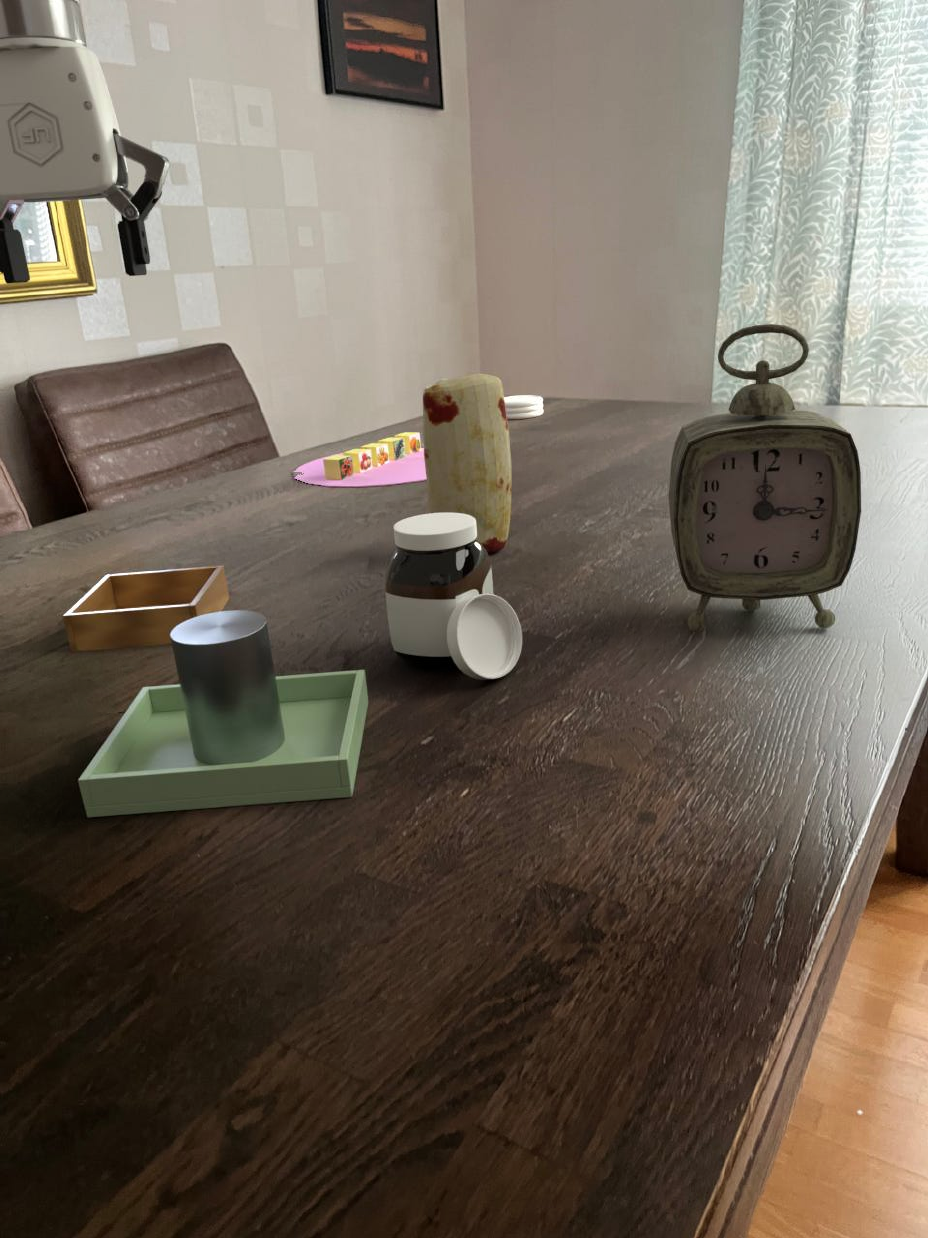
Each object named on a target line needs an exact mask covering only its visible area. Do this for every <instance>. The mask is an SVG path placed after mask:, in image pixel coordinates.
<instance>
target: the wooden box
mask: <svg viewBox="0 0 928 1238" xmlns="http://www.w3.org/2000/svg"><path fill="white" fill-rule="evenodd" d="M229 599H230V594H229V587H228V581H227V575H226V570H225V565H223V564H222V565H212V566H200V567H197V566H196V567H187V568H186V567H185V568H174V569H173V568H172V569H160V570H150V571H149V570H148V571H137V572H136V571H135V572H124V573H112V574H111V573H110V574H106V575H104V577H102V578H101V579H100V580H99V581H98V582H97V583H96V584H95V585H94V586H93V587H92V588H90V590H88V592H87V593H85V594H84V595H83V596H82V597H81V598H80V599H79V600H77V602H76V603H74V605H72V607H70V608H69V609H68V610H67V611H66V612H65V613H64V614H63V615H62V619H63V623H64V627H65V631H66V632H65V633H66V637H67V640H68V644H69V648H70V652H72V653H73V652H85V651H98V650H110V649H123V648H124V649H125V648H133V647H134V648H135V647H136V648H137V647H147V646H148V647H149V646H160V645H161V646H163V645H172V643H171V638H170V633H171V631H172V630H173V629H174V628H175V627H176V626H177V625H179V624H181V623H183V622H185V621H187V620H189V619H192V618H194V617H198V616H201V615H205V614H209V613H214V612H220V611H223V609H224V607H225V606H226V604H227V602H228V601H229Z"/></svg>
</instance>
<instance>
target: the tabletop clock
mask: <svg viewBox="0 0 928 1238" xmlns="http://www.w3.org/2000/svg"><path fill="white" fill-rule="evenodd" d="M759 334H783V335H786V336H788V337H791V338H792V339H794V340H796V341H797V342H798V343H799V345H800V346H801V349H802V354H801V356H800V358H799V359H797V360H796V361H795V362H793V363H792V364H790V365H787V366H784V367H781V368H775V369H770V363H769V362H768V361H767V360H765V359H763V360H759V361H757V363H756V364H755V370H742V369H737V368H734V367H732V366H731V365H729V364H727V363H726V361H725V352H726V351H727V349H728V348H729V347H730V346H731V345H732V344H733V343H735V341H737V340H739V339H742V338H744V337H747V336H752V335H759ZM809 347H810V346H809V344H808V341H807V339H806V337H805V336H804V335H803V334H802V333H800V332H799V331H798V330H797V329H795V328H793V327H790V326H787V325H785V324H775V323H774V324H773V323H769V324H755V325H751V326H747V327H746V326H745V327H743V328H740V329H738V330H737V331H735V332H733V333H731V334H730V335H729V336H728V337H727V338H725V340H724V341H723V342H722V344H721V345H720V347H719V350H718V354H717V361H718V364H719V366H720V368H721V369H722V370H724V371H725V372H726V373H727V374H728V375H729V376H732V377H735V378H739V379H741V380H750V381H755V383H750V384H747V385H745V386H743V387H741V388H740V389H739V390H737V392H736V393H735V394H734V395H733V398H732V399H731V401H730V404H729V406H728V413H721V414H720V413H719V414H714V415H707V416H704V417H701V418H700V417H699V418H697V419H695V420H692V421H691V422H688V423H686V424H683V425H681V428H680V430H679V432H678V435H677V437H676V439H675V442H674V446H673V451H672V456H671V460H670V471H669V472H670V473H669V484H668V485H669V486H668V507H669V519H670V520H669V521H670V530H671V531H670V532H671V536H672V541H673V546H674V550H675V556H676V559H677V564H678V569H679V571H680V576H681V579H682V580H683V582H684V584H685V586H686V589H687V591H690V592H691V593H695V594H698V595H700V598H699V601H698V606H697V607H696V608H697V609H696V612H695V611H694V612H691V613H689V614H688V615H687V616H686V619H685V625H686V628H688V629H689V630H690V631H692V632H699V631H701V630H702V629H703V628H704V626H705V625H706V624H705V623H706V620H705V617H704V615H703V613H704V612H705V610H706V608H707V606H708V604H709V602H710V600H711V598H715V599H729V600H730V599H731V600H741V606H742V608H743V609H744V610H745V611H747V612H749V613H753V612H755V611H757V610H759V609H760V607H761V601H765V600H766V601H767V600H779V599H787V598H788V599H789V598H800V597H807V598H808V599H809V601H810V603H811V604H812V605H813V607H814V609H815V610H816V613H815V615H814V622H815V624H816V626H817V627H819V628H821V629H829V628H831V627H832V626H833V625H834V623H835V621H836V616H835V613H834V612H833V611H832V610H830V609H826V608H824V607H823V605H822V601H821V599H820V596H819V594H823V593H826V592H829V591H831V590H834V589H837V588H839V587H841V586H843V583H844V581H845V580H846V578H847V577H848V574H849V572H850V570H851V567H852V564H853V561H854V558H855V553H856V549H857V542H858V536H859V529H860V522H861V515H862V475H861V474H862V472H861V465H860V464H861V463H860V457H859V451H858V448H857V446H856V443H855V441H854V438H853V435H852V434H851V433H850V432H849V431H848V430H846V429H845V428H844V427H842V426H841V425H840V424H839V423H837V422H836V421H835V420H833V418H830V417H828V416H825V415H823V414H819V413H817V412H814V411H813V412H812V411H809V410H808V411H807V410H796V406H795V404H794V400H793V398H792V396H791V394H790V393H789V392H788V390H787V389H785V388H784V387H783V386H782V385H780V384H778V383H774V382H770V380H773V379H778V378H782V377H785V376H787V375H789V374H792V373H795V372H796V371H797V370H799V368H800V367H802V366H803V365H804V364H805V362H806V361H807V359H808V357H809V354H810V353H809V352H810V348H809Z"/></svg>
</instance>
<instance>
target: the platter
mask: <svg viewBox="0 0 928 1238" xmlns="http://www.w3.org/2000/svg"><path fill="white" fill-rule="evenodd" d="M421 445H422V444H421V433H420V432H415V431H414V432H411V431H410V432H409V431H404V432H400V433H398V434H395V435H393V437H391V436H390V437H386V438H383V439H380V440H377V442H371V443H368V444H364V445H361V446H360V448H353V449H350V450H349V449H348V450H346V451H343V452H340V453H336V454H332V455H327V456H324V457H321V458H317V459H314V460H312V461H309V462H306V463H305V464H304V463H303V464H302V465H299V466H298V467H297V468H296V469H295V470H293V472H302V474H303V473H304V474H303V475H301V474H300V475H299V474H298V475H297V476H296V477H294V476H293V478H294V480H295V479H297V480H296V481H298V480H300V481H302V482H301V483H303V482H305V483H304V484H306V483H308V484H307V485H311V484H314V485H313V486H318V485H321V486H320V487H326V488H366V487H367V488H368V487H383V486H385V487H386V486H395V485H401V484H410V483H411V484H412V483H416V482H417V483H418V482H423V481H427V478H426V469H425V461H424V448H421ZM300 481H299V482H300Z"/></svg>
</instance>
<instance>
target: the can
mask: <svg viewBox="0 0 928 1238" xmlns="http://www.w3.org/2000/svg"><path fill="white" fill-rule="evenodd" d="M170 638H171V643H172V644H171V647H172V652H173V657H174V662H175V666H176V667H175V668H176V672H177V677H178V682H179V683H178V684H180V688H181V693H182V698H183V703H184V708H185V713H186V718H187V723H188V728H189V733H190V738H191V743H192V748H193V753H194V756H195V758H196V759H197V760H198V761H200V762H201V763H203V764H206V765H210V766H212V765H225V764H238V763H251V762H255V761H258V760H261V759H263V758H265V757H267V756H269V755H271V754H272V753H274V752H275V751H277V750H278V749H279V748H280V747H281V746H282V744H283V743H284V740H285V733H284V727H283V721H282V715H281V709H280V702H279V696H278V690H277V684H276V677H277V676H276V671H275V666H274V659H273V654H272V647H271V646H272V645H271V641H270V640H271V639H270V634H269V628H268V621H267V618H266V617H265V616H264V615H263V614H262V613H259V612H257V611H252V610H242V609H240V610H239V609H236V610H235V609H231V610H221V611H220V612H214V613H209V614H205V615H201V616H198V617H194V618H192V619H189V620H187V621H185V622H183V623H181V624H179V625H177V626H176V627H175V628H174V629H173V630H172V631H171V633H170Z"/></svg>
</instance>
